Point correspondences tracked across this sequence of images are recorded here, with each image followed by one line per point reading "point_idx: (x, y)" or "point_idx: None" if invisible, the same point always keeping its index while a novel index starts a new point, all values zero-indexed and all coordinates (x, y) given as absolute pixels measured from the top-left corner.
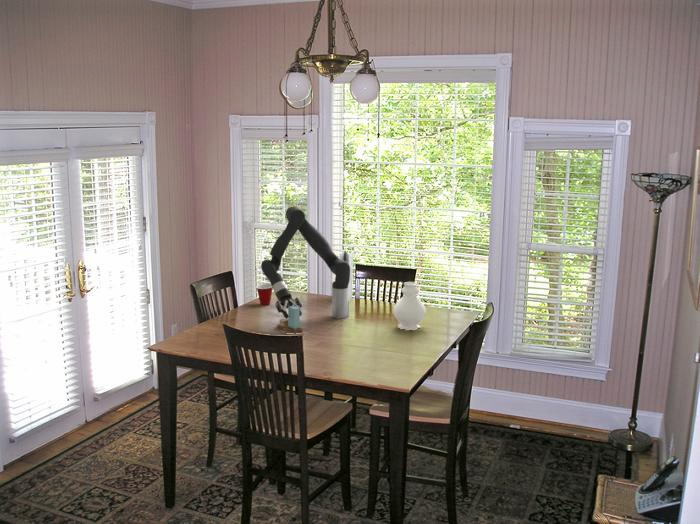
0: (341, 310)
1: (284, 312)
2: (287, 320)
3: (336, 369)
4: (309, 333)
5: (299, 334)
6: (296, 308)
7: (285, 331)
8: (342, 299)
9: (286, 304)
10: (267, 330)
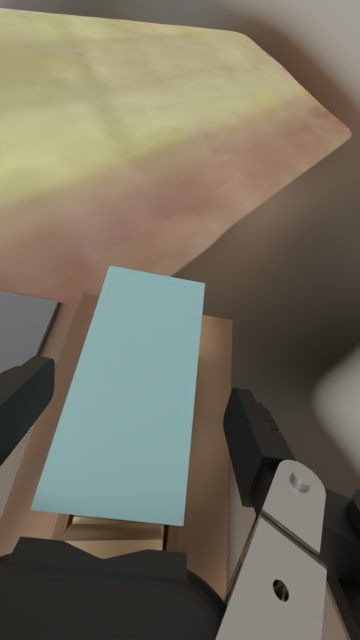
0: None
1: (283, 453)
2: (111, 539)
3: (290, 109)
4: None
5: None
6: (160, 288)
7: (191, 445)
8: None
9: (246, 612)
10: None
